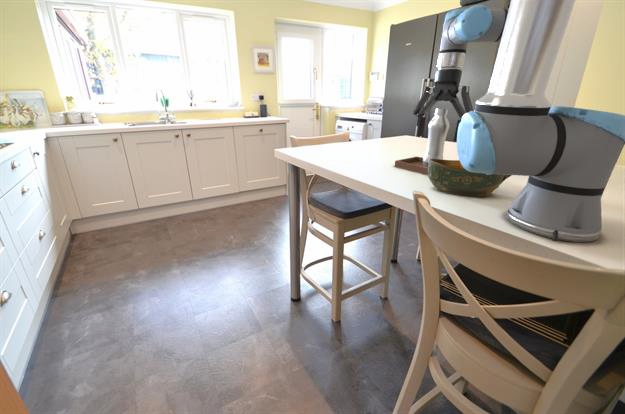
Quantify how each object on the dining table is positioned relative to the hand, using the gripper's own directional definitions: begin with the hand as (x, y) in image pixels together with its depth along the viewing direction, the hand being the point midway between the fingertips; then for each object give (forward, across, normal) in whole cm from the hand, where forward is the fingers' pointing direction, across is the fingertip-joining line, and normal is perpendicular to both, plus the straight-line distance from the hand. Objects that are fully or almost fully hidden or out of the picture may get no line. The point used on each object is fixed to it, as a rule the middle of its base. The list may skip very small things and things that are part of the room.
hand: (437, 138), depth 96 cm
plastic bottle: (+11, 0, 0) cm, 11 cm away
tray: (+11, 0, 0) cm, 11 cm away
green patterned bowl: (+12, -19, +14) cm, 26 cm away
